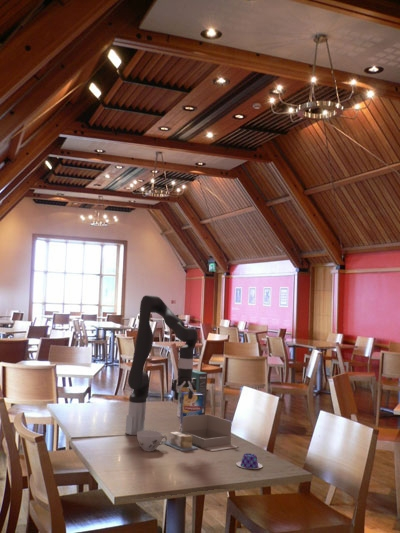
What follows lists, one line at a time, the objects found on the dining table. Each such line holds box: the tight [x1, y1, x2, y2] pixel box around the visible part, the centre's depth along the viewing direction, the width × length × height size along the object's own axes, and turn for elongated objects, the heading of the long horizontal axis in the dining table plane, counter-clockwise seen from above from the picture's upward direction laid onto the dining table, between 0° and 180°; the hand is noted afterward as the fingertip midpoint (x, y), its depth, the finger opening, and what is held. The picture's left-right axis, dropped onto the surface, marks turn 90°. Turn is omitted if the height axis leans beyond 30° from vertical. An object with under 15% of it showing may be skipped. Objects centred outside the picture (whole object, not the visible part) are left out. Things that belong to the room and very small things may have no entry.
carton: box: [182, 413, 239, 452], centre depth 291 cm, size 18×26×12 cm
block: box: [168, 431, 193, 448], centre depth 283 cm, size 13×5×6 cm, turn 38°
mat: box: [160, 440, 199, 452], centre depth 283 cm, size 10×18×1 cm, turn 38°
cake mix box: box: [176, 369, 208, 418], centre depth 349 cm, size 22×6×30 cm, turn 34°
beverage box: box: [178, 392, 203, 433], centre depth 312 cm, size 7×11×22 cm, turn 104°
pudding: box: [235, 452, 263, 470], centre depth 256 cm, size 12×12×5 cm
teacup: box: [136, 429, 168, 452], centre depth 273 cm, size 15×12×8 cm
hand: (183, 399), depth 284 cm, fingers open, 8 cm apart
